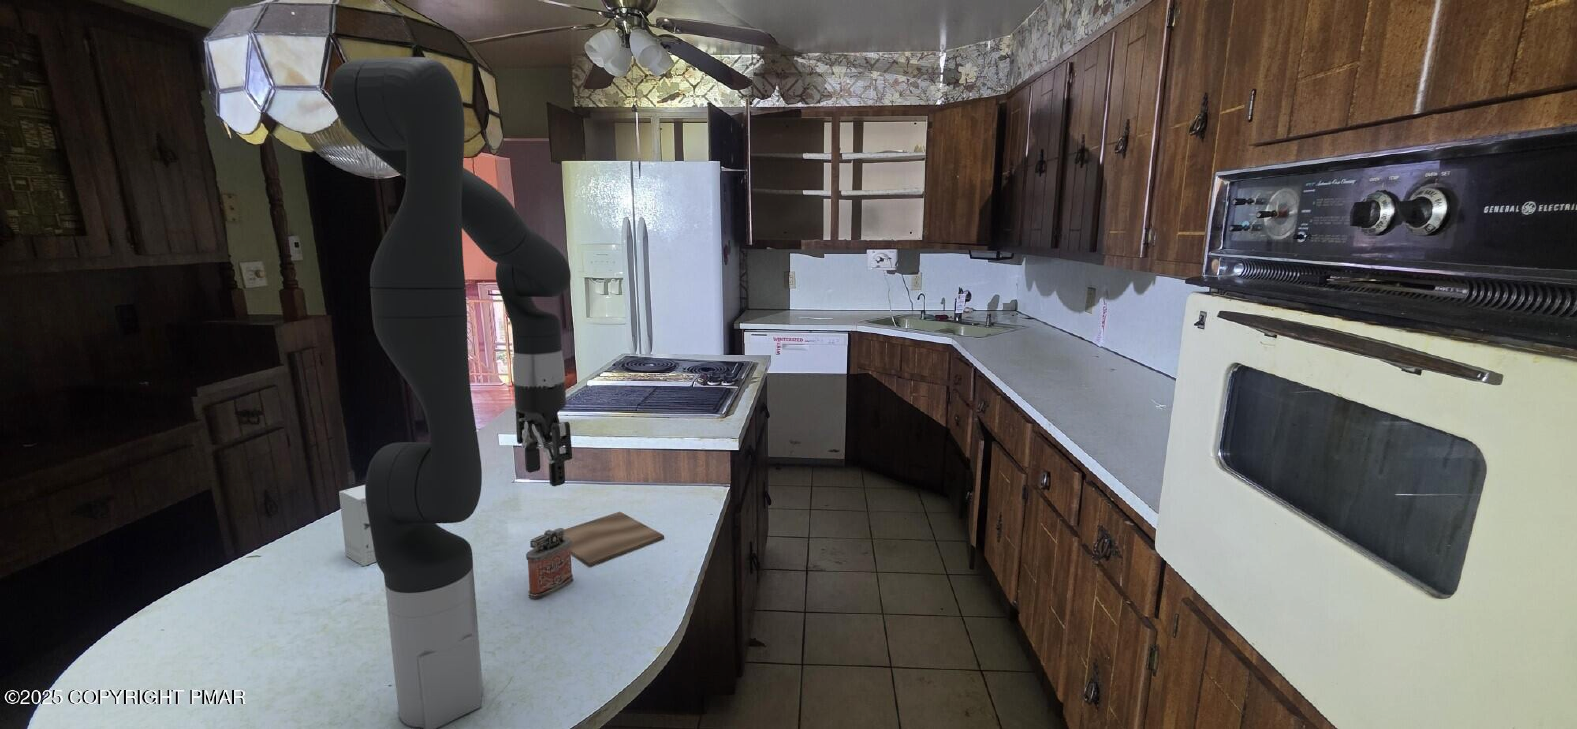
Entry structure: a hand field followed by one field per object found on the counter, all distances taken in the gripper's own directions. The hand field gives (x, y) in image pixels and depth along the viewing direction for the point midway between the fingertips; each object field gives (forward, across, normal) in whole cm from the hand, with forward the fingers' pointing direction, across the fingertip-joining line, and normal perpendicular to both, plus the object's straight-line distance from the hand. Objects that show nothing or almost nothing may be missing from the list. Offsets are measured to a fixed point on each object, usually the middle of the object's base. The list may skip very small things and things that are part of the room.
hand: (545, 477), depth 101 cm
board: (+19, -10, +16) cm, 27 cm away
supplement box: (+20, -34, -17) cm, 43 cm away
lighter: (+20, 0, 0) cm, 20 cm away
